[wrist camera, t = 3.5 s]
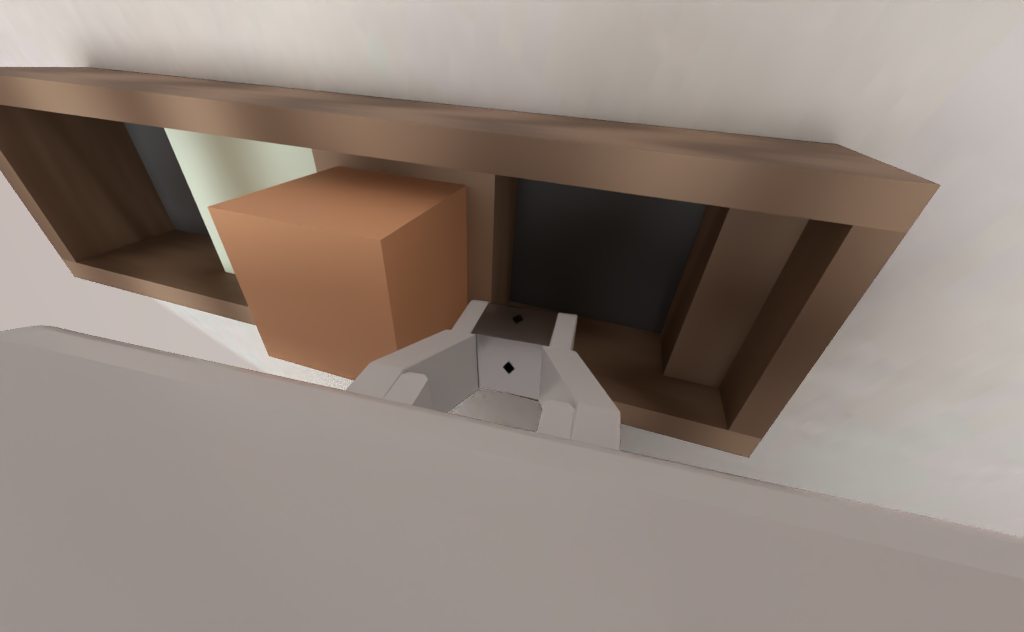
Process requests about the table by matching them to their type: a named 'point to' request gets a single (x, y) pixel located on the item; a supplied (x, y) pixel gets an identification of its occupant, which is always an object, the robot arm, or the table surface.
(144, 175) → the frame
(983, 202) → the table surface
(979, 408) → the table surface
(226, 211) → the cube
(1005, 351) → the table surface
